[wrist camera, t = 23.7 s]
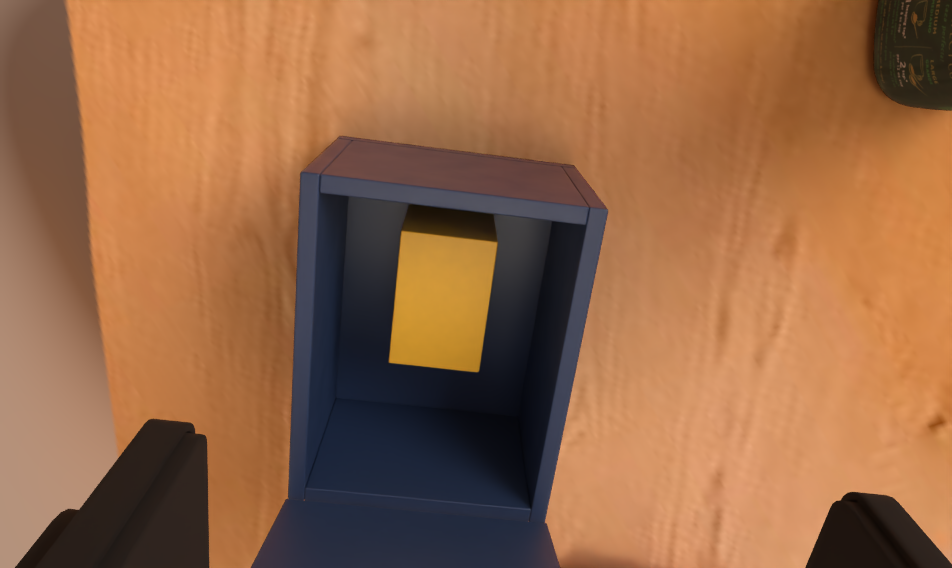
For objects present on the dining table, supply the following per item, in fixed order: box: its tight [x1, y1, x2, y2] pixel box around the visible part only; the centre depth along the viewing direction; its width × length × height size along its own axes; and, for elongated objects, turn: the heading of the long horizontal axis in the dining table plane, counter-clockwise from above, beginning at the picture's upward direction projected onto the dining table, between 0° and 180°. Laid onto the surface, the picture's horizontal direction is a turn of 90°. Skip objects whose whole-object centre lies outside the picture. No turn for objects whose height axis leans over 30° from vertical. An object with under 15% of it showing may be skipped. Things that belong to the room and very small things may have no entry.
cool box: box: [288, 136, 608, 523], centre depth 35 cm, size 16×13×9 cm
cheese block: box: [389, 204, 498, 372], centre depth 35 cm, size 7×5×5 cm, turn 172°
